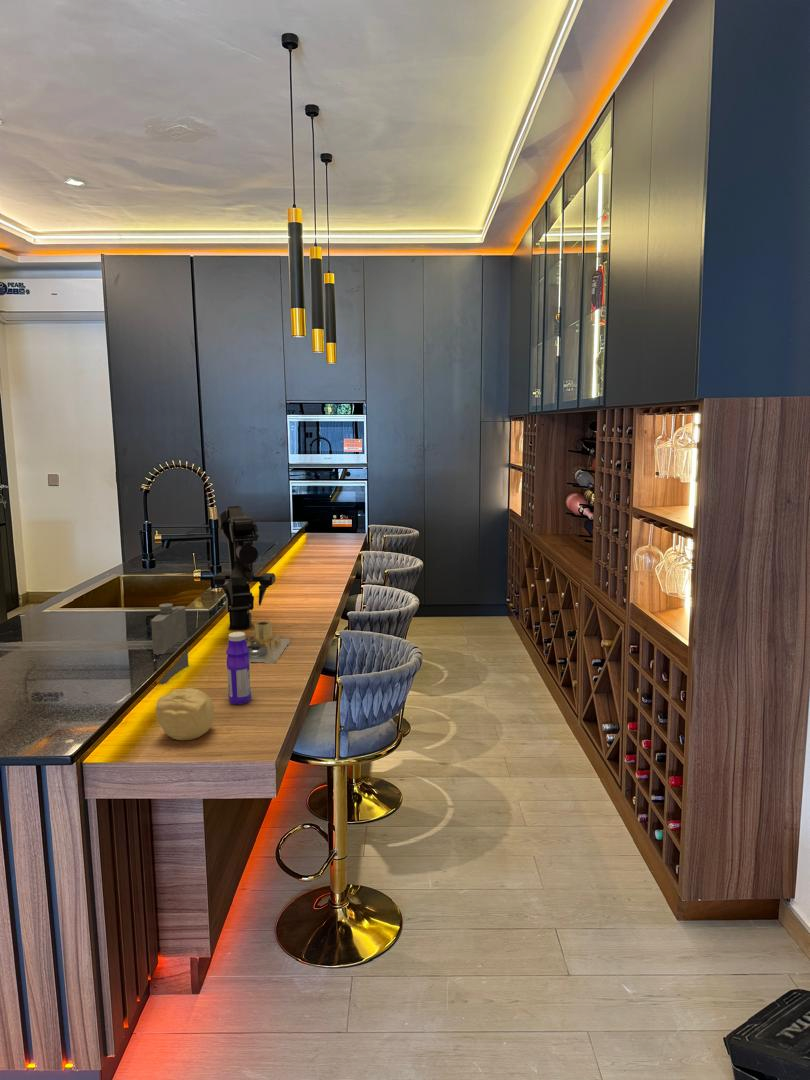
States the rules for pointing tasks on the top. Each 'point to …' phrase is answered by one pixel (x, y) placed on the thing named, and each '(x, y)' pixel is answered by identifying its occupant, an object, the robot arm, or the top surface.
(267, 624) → the gear
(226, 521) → the robot arm
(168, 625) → the hip flask
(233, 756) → the top surface
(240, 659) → the bottle
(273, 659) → the carrier plate
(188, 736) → the sculpture
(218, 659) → the top surface
